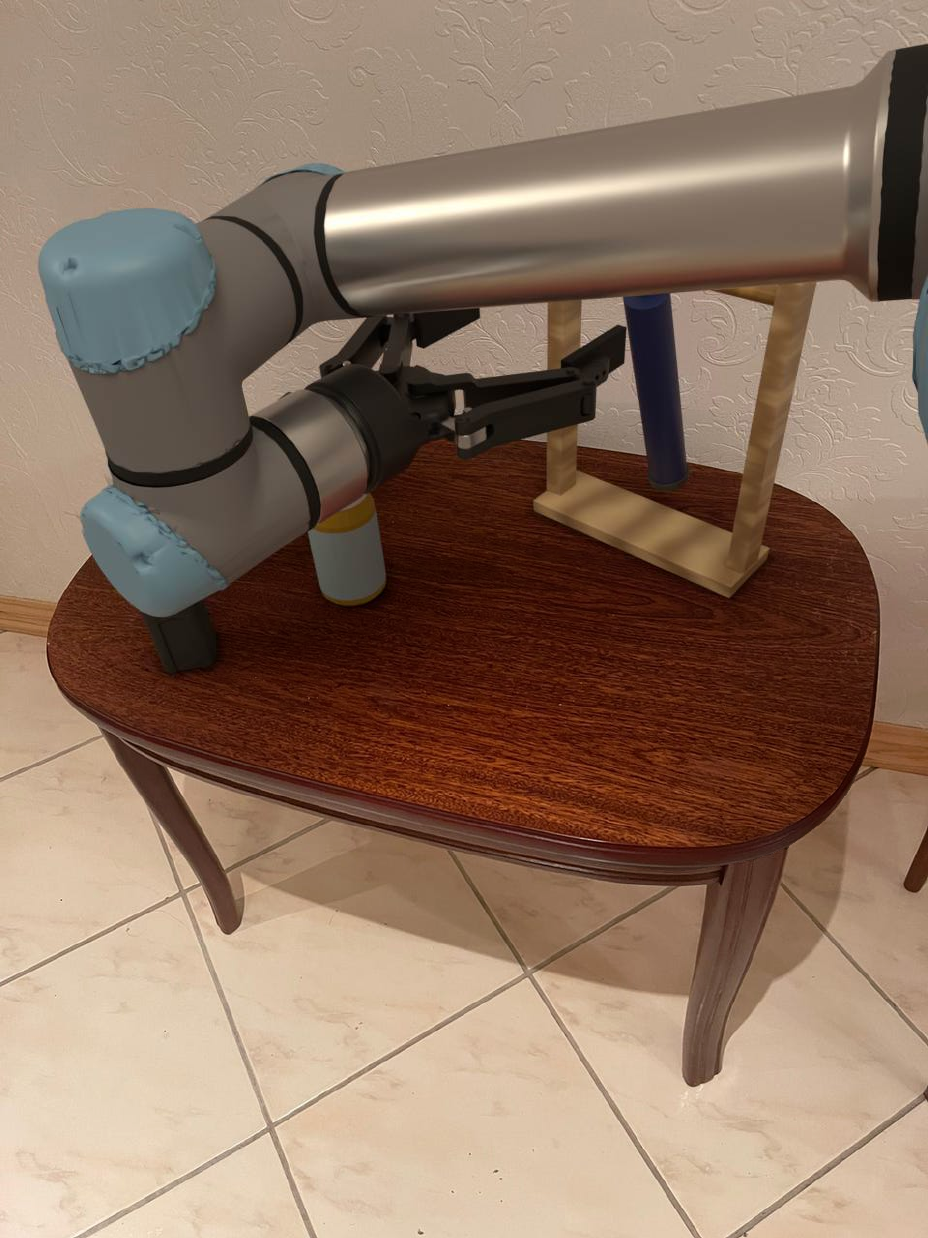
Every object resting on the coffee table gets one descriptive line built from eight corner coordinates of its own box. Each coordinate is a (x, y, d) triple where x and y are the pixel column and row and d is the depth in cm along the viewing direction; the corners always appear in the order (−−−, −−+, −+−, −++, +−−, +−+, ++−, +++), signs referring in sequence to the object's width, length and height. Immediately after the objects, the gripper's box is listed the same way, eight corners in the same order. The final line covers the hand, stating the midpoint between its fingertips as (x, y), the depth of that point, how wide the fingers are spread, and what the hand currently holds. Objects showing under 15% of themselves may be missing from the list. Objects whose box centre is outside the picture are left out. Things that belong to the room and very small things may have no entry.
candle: (163, 675, 86) (71, 452, 69) (165, 640, 89) (78, 420, 73) (216, 666, 86) (137, 442, 69) (216, 631, 90) (142, 411, 73)
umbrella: (675, 497, 94) (652, 298, 73) (640, 483, 96) (607, 286, 76) (724, 432, 97) (715, 223, 76) (689, 420, 99) (671, 214, 78)
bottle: (309, 601, 93) (280, 480, 82) (340, 561, 97) (317, 442, 87) (369, 615, 90) (347, 493, 80) (397, 573, 95) (380, 453, 85)
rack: (767, 559, 93) (832, 262, 72) (728, 598, 89) (786, 295, 68) (574, 479, 106) (582, 208, 85) (533, 511, 102) (531, 233, 81)
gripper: (225, 435, 64) (427, 328, 75) (488, 568, 51) (685, 415, 62) (198, 336, 59) (419, 237, 70) (481, 455, 46) (698, 310, 57)
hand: (544, 320), depth 66 cm, fingers open, 13 cm apart
